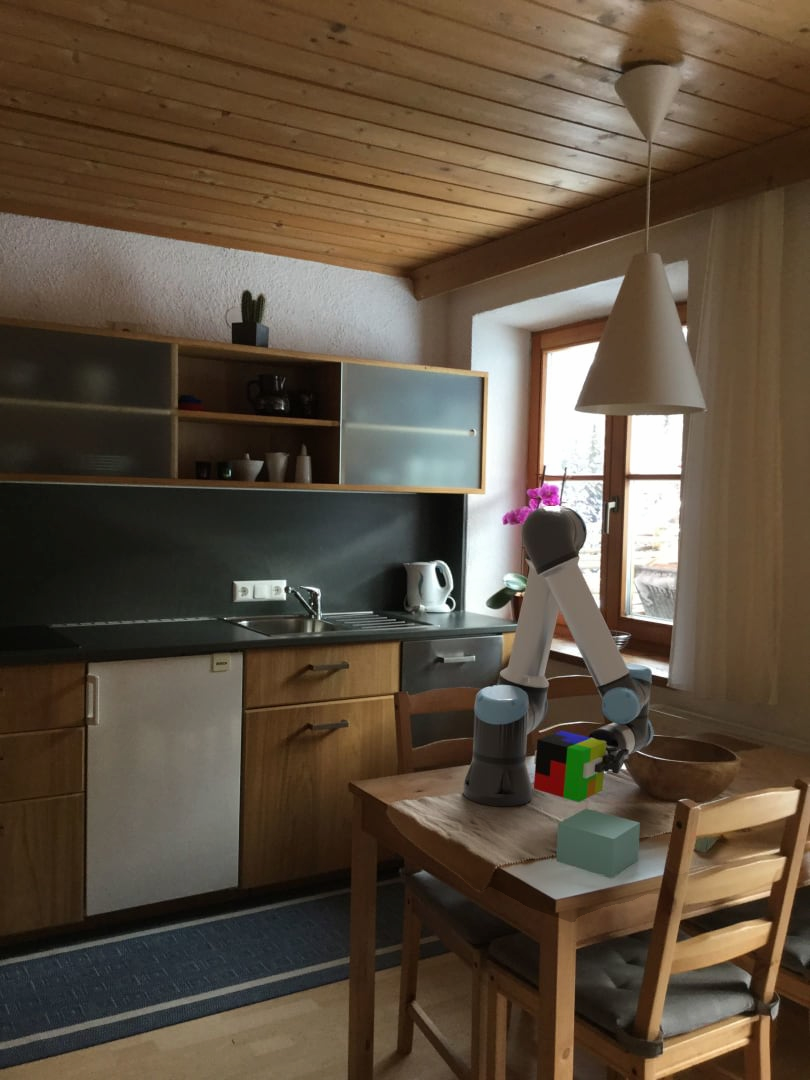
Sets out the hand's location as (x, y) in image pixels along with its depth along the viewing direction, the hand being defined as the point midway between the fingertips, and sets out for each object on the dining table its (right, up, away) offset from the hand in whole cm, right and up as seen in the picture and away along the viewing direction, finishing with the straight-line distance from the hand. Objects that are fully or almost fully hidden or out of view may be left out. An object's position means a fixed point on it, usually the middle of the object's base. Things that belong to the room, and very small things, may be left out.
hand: (560, 764), depth 183 cm
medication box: (+29, -16, 0) cm, 33 cm away
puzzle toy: (+2, -6, +4) cm, 8 cm away
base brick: (+5, -15, -11) cm, 19 cm away
